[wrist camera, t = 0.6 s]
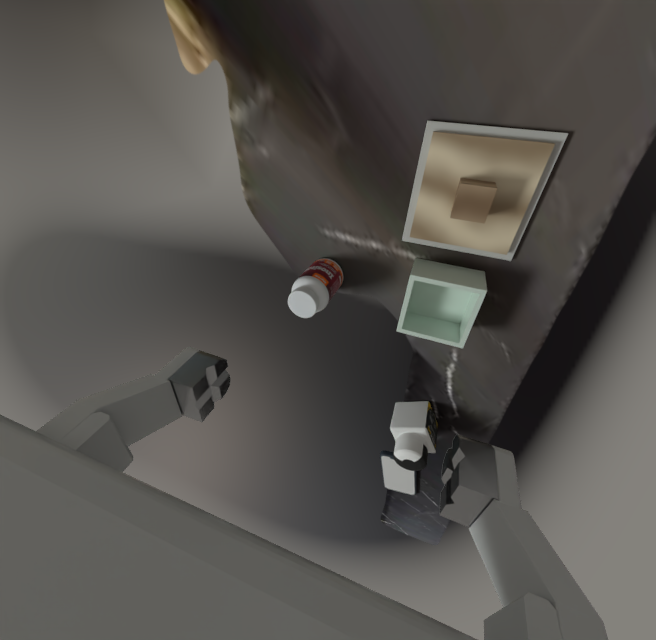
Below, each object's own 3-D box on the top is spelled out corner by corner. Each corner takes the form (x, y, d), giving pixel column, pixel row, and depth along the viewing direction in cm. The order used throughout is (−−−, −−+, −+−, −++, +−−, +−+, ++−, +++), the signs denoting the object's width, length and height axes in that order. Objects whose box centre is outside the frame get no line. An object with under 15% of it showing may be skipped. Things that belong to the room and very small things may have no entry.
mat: (427, 120, 37) (427, 120, 37) (566, 133, 34) (568, 133, 33) (402, 239, 46) (401, 240, 46) (510, 259, 42) (511, 260, 42)
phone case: (417, 490, 82) (416, 455, 74) (416, 496, 81) (415, 461, 72) (384, 482, 86) (380, 448, 77) (383, 488, 84) (378, 453, 76)
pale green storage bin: (415, 257, 47) (410, 274, 42) (484, 271, 45) (487, 290, 40) (402, 311, 53) (396, 331, 48) (462, 326, 50) (462, 348, 46)
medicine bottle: (438, 424, 65) (434, 477, 56) (405, 424, 68) (396, 474, 59) (429, 400, 62) (423, 451, 53) (395, 401, 66) (384, 450, 56)
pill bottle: (345, 260, 51) (322, 291, 43) (343, 292, 55) (321, 326, 46) (311, 253, 53) (282, 282, 44) (310, 285, 56) (284, 317, 48)
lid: (433, 131, 37) (430, 134, 34) (553, 143, 34) (563, 147, 31) (410, 235, 45) (405, 245, 41) (506, 252, 42) (509, 265, 38)
